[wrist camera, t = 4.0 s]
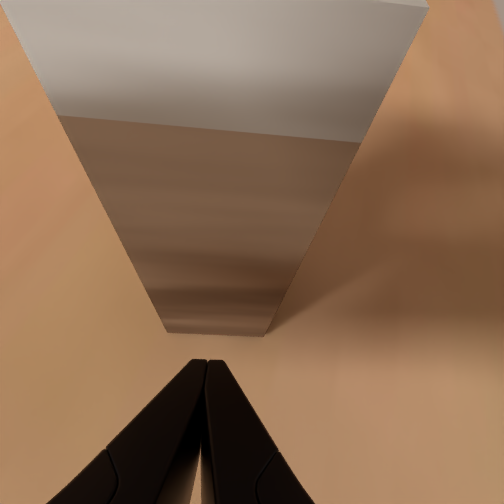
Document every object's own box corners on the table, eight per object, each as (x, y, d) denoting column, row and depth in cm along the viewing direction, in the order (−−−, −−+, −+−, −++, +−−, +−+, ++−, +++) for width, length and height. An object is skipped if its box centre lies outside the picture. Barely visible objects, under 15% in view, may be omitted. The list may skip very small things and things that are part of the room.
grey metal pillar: (263, 336, 17) (429, 7, 4) (167, 332, 16) (-27, -51, 3) (263, 253, 19) (363, -120, 6) (179, 248, 19) (96, -161, 6)
